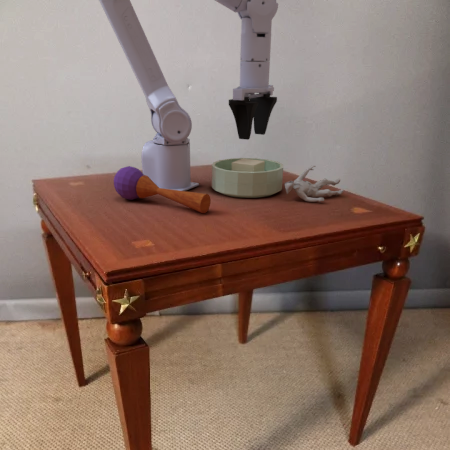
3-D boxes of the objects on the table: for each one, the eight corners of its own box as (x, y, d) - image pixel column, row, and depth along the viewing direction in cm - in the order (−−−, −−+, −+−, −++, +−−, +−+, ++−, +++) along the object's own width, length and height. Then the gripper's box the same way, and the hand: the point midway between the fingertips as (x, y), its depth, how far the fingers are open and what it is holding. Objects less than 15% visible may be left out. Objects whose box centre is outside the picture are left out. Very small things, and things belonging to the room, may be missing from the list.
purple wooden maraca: (194, 194, 82) (104, 170, 90) (196, 226, 86) (110, 200, 94) (214, 181, 86) (125, 159, 94) (215, 212, 90) (130, 188, 98)
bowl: (199, 193, 99) (199, 167, 97) (232, 179, 110) (232, 155, 107) (264, 202, 93) (265, 175, 91) (291, 187, 104) (293, 162, 102)
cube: (231, 188, 100) (231, 162, 98) (241, 183, 104) (242, 158, 102) (253, 191, 98) (254, 165, 96) (263, 186, 102) (264, 160, 100)
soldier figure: (348, 205, 96) (305, 192, 89) (329, 217, 100) (287, 206, 93) (338, 170, 98) (296, 156, 91) (320, 184, 102) (278, 171, 95)
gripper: (258, 62, 88) (255, 143, 95) (288, 61, 99) (283, 133, 106) (223, 61, 91) (222, 140, 98) (256, 60, 102) (253, 131, 109)
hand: (252, 136), depth 102 cm, fingers open, 7 cm apart
